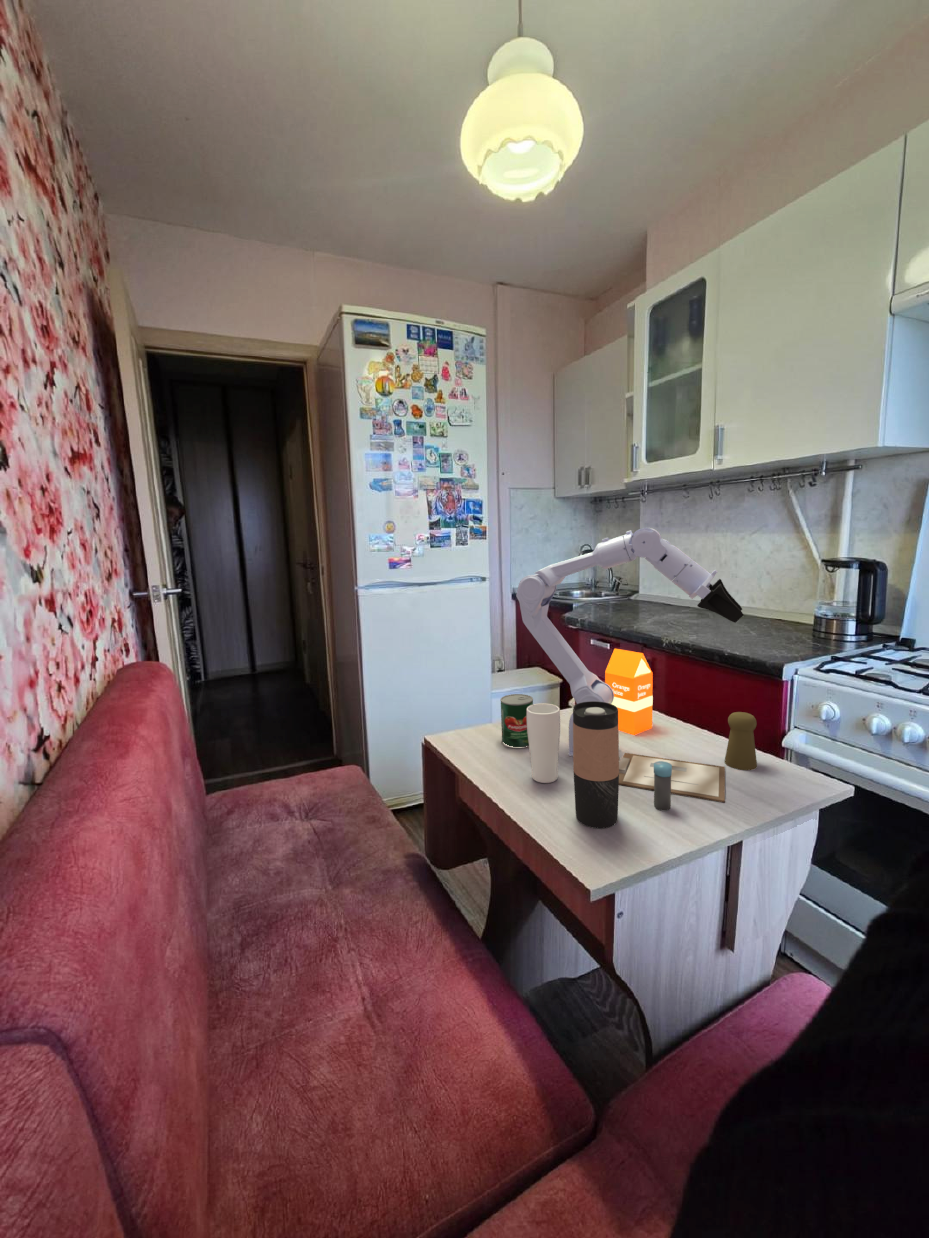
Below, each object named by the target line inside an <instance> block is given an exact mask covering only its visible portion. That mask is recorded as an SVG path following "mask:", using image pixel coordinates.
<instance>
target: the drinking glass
mask: <svg viewBox="0 0 929 1238" xmlns="http://www.w3.org/2000/svg"><path fill="white" fill-rule="evenodd" d="M526 720H527V734H528V742H529V747H528V749H529V751H528V752H529V756H530V767H531V777H532V779H533V781H536V782H537V783H540V784H541V783H542V784H550V783H553V782H556V781H557V779H558V778H559V777H558V776H559V769H558V768H559V754H560V738H561V708H560V707H559V706H558V705H556V704H552V703H543V702H542V703H533V705H530V706H528V707H527V714H526Z"/></svg>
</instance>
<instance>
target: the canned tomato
mask: <svg viewBox="0 0 929 1238" xmlns="http://www.w3.org/2000/svg"><path fill="white" fill-rule="evenodd" d="M533 704H534V698H533V697H532V696H531V695H528V694H525V693H524V694H523V693H514V694H507V695H504V696H502V697H500V718H501V719H500V720H501V721H500V722H501V723H500V724H501V743H502V742H504V743H505V744H507V745H509V746H513V747H526V746H529V742H528V734H527V720H526V714H527V707H528V706H530V705H533ZM526 748H527V747H526Z"/></svg>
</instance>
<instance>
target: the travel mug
mask: <svg viewBox="0 0 929 1238" xmlns="http://www.w3.org/2000/svg"><path fill="white" fill-rule="evenodd" d="M572 713H573V756H572V757H573V758H572V760H573V763H572V765H573V766H572V767H573V768H572V769H573V787H574V788H573V789H574V806H575V807H574V809H575V817H576V820H577V821H578V822H579V823H580V824H581V825H583V826H585V827H587V828H592V829H601V830H602V829H608V828H611V827H613V826H615V825H616V823H617V822H618V819H619V818H618V816H619V794H620V793H619V790H620V789H619V788H620V787H619V786H620V785H619V761H620V753H619V752H620V746H619V745H620V743H619V742H620V741H619V738H620V736H619V734H620V733H619V730H618V708H617V707H616V706H614V705H612V704H609V703H605V702H596V701H591V702H582V703H578V704H577V703H576V704H575V705H573V708H572Z"/></svg>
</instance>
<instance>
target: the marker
mask: <svg viewBox="0 0 929 1238" xmlns="http://www.w3.org/2000/svg"><path fill="white" fill-rule="evenodd" d="M671 775H672V765H671V764H670V763H668V762H664V761H658V762H655V763H654V791H653V807H654V808H655V809H656V810H658V811H662V812H665V811H666V812H667V811H670V810H671V806H672V805H671V804H672V802H671V801H672V799H671V798H672V794H671Z"/></svg>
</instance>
